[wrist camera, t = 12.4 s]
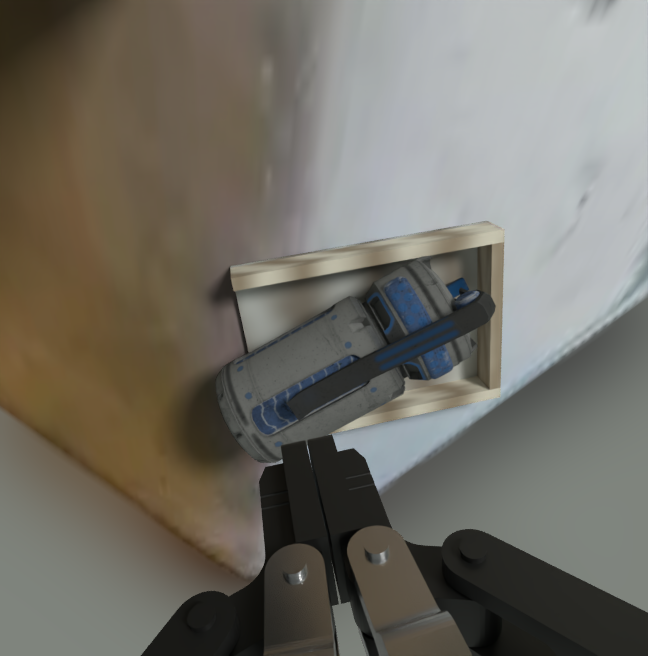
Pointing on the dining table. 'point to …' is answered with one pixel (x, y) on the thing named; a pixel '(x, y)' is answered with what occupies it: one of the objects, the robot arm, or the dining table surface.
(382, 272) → the cream flat rectangular tray
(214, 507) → the dining table surface
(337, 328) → the beverage bottle
